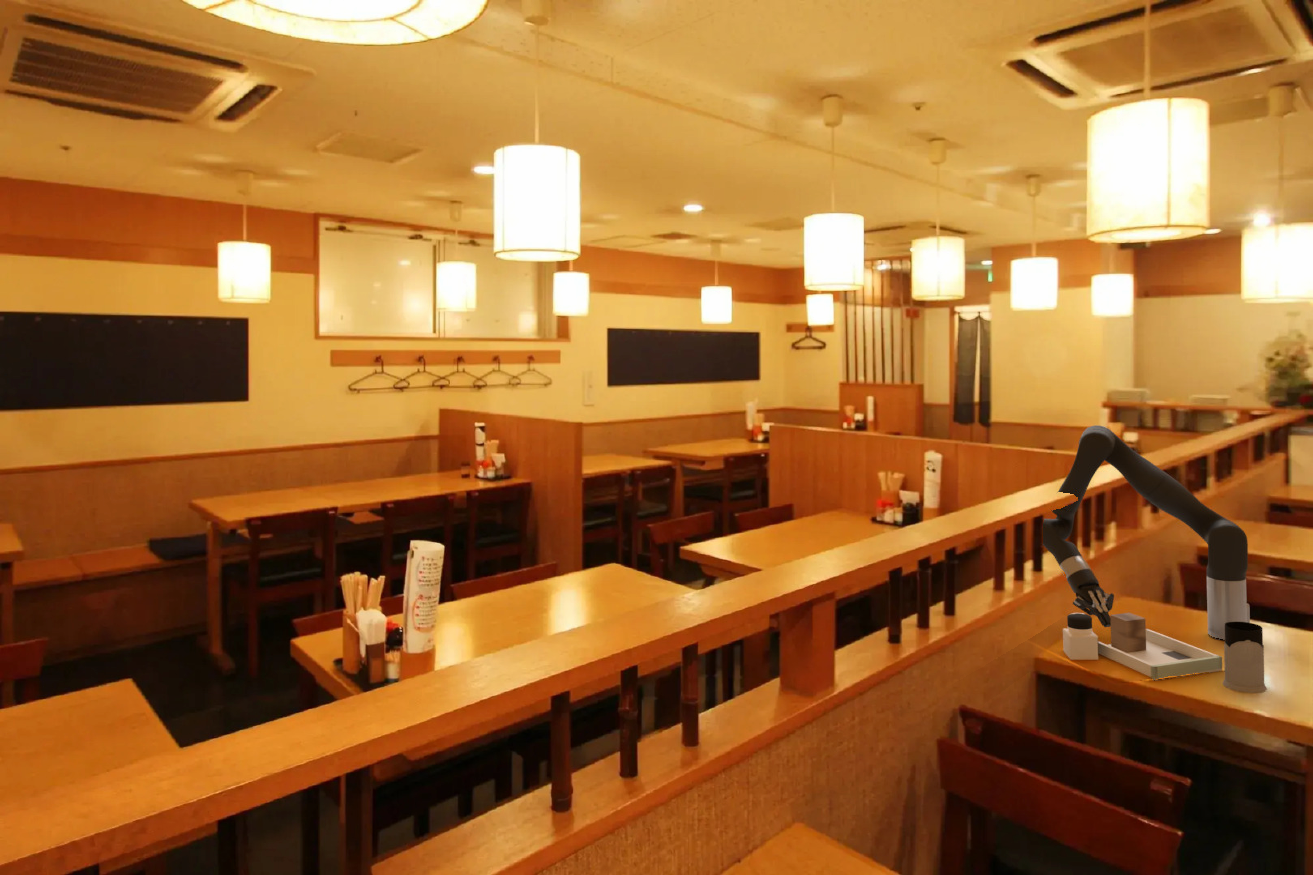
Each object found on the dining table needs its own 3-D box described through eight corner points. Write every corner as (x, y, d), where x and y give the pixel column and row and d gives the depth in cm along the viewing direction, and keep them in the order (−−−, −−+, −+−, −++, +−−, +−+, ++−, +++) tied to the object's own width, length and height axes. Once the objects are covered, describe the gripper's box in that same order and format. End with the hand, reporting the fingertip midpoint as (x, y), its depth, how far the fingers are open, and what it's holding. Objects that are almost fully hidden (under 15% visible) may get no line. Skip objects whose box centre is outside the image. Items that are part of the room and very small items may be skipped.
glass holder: (1227, 691, 197) (1226, 630, 196) (1213, 670, 210) (1212, 613, 209) (1271, 694, 193) (1270, 632, 192) (1254, 673, 206) (1253, 615, 205)
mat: (1173, 653, 223) (1173, 650, 223) (1191, 660, 218) (1191, 657, 217) (1161, 654, 223) (1161, 652, 223) (1178, 662, 217) (1178, 659, 217)
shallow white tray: (1147, 640, 234) (1147, 628, 234) (1222, 670, 209) (1222, 656, 209) (1085, 649, 231) (1085, 637, 230) (1154, 680, 206) (1153, 666, 206)
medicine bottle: (1099, 661, 221) (1097, 618, 220) (1070, 661, 223) (1069, 618, 222) (1090, 652, 228) (1089, 610, 227) (1063, 652, 229) (1061, 610, 229)
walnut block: (1130, 643, 231) (1129, 612, 231) (1146, 650, 225) (1145, 618, 225) (1111, 646, 230) (1110, 615, 230) (1127, 652, 224) (1126, 620, 224)
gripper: (1064, 570, 242) (1094, 622, 231) (1104, 565, 244) (1136, 616, 233) (1053, 583, 248) (1082, 634, 236) (1092, 578, 250) (1122, 629, 239)
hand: (1109, 625), depth 235 cm, fingers closed
